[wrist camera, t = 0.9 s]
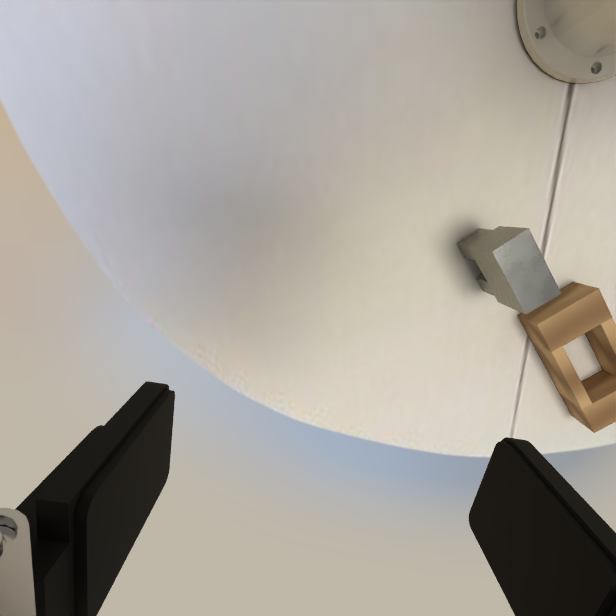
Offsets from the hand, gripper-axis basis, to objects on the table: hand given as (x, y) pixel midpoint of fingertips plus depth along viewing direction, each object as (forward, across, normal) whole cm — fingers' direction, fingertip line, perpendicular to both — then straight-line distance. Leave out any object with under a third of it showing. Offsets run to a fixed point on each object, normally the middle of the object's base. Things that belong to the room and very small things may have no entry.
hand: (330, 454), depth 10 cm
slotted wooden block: (+25, -28, +3) cm, 37 cm away
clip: (+25, -15, -5) cm, 29 cm away
